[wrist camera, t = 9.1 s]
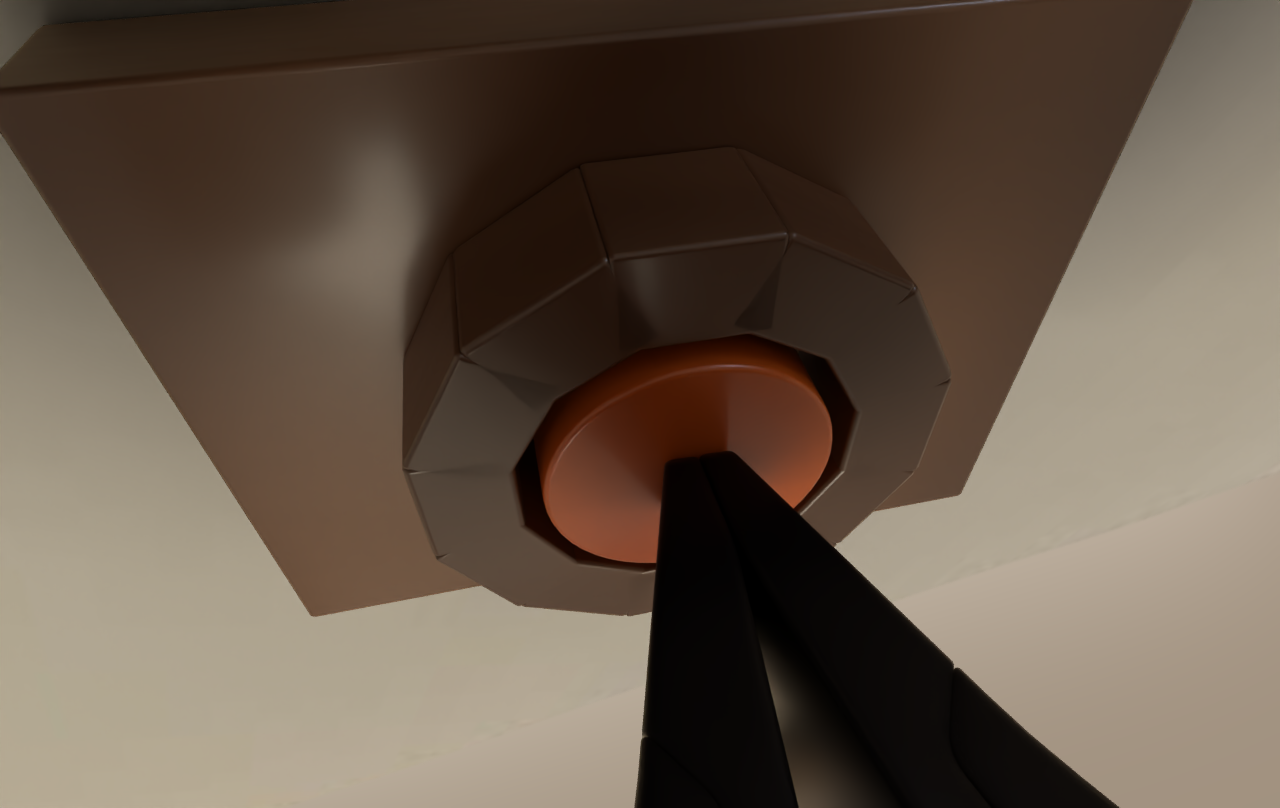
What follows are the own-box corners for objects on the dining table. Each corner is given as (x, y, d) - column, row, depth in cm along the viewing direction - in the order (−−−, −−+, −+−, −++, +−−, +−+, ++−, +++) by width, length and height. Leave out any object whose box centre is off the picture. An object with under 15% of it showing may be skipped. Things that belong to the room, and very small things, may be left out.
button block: (1106, -64, 9) (1350, 43, 7) (921, 432, 16) (1013, 577, 13) (36, 22, 8) (-135, 203, 5) (319, 537, 14) (300, 724, 12)
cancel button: (802, 252, 9) (861, 344, 8) (770, 446, 12) (811, 537, 11) (510, 293, 9) (525, 397, 8) (542, 485, 11) (557, 586, 10)
